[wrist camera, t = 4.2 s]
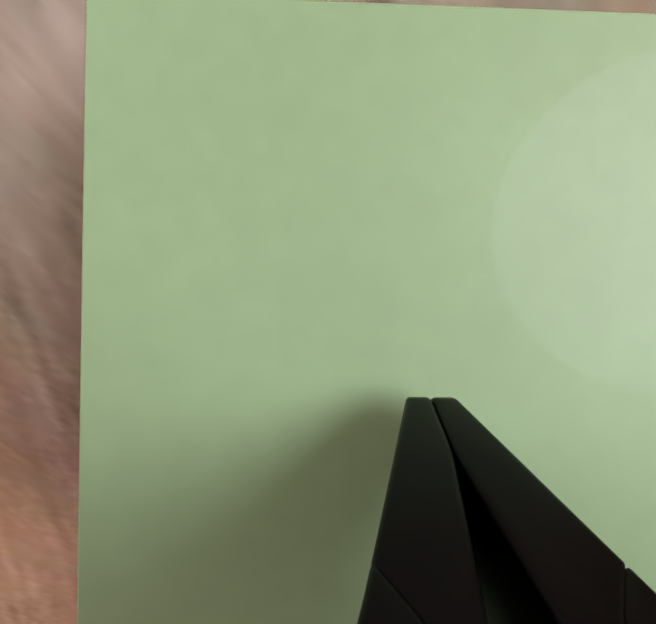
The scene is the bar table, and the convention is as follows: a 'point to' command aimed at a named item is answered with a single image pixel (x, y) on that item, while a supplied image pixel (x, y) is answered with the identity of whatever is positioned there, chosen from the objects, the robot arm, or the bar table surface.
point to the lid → (351, 284)
